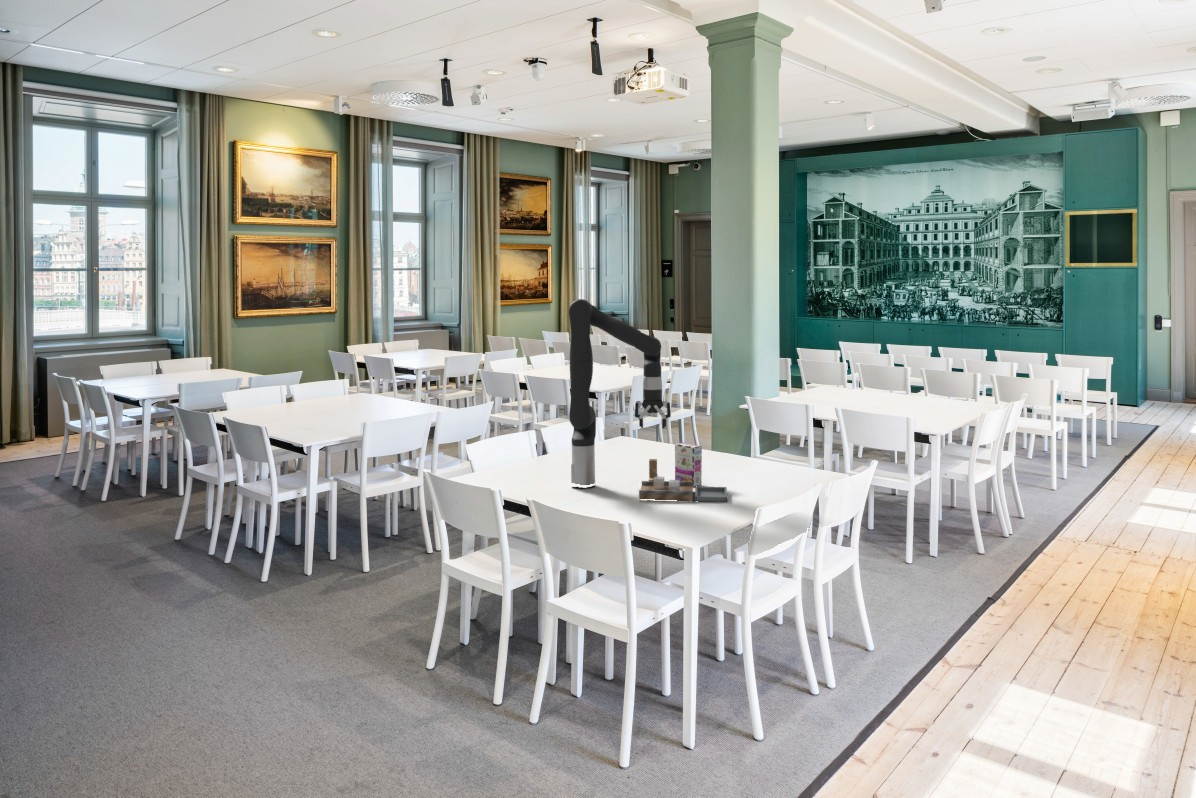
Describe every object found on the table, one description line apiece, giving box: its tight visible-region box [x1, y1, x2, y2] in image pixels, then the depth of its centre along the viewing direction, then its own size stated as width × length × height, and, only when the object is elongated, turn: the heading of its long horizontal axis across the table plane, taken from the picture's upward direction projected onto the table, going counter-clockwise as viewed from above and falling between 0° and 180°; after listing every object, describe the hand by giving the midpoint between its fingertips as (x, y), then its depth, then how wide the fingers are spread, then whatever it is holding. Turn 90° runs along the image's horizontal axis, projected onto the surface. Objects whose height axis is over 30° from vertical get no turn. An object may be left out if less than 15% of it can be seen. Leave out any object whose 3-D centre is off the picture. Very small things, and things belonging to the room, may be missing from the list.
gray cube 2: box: [668, 479, 680, 491], centre depth 344 cm, size 4×4×4 cm
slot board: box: [638, 480, 694, 502], centre depth 346 cm, size 20×16×4 cm
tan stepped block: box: [648, 458, 659, 481], centre depth 362 cm, size 3×11×11 cm, turn 173°
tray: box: [694, 486, 728, 503], centre depth 345 cm, size 12×16×2 cm
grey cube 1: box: [654, 476, 665, 489], centre depth 349 cm, size 4×4×4 cm
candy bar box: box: [674, 442, 703, 488], centre depth 364 cm, size 11×5×16 cm, turn 37°
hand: (652, 427), depth 360 cm, fingers open, 8 cm apart
